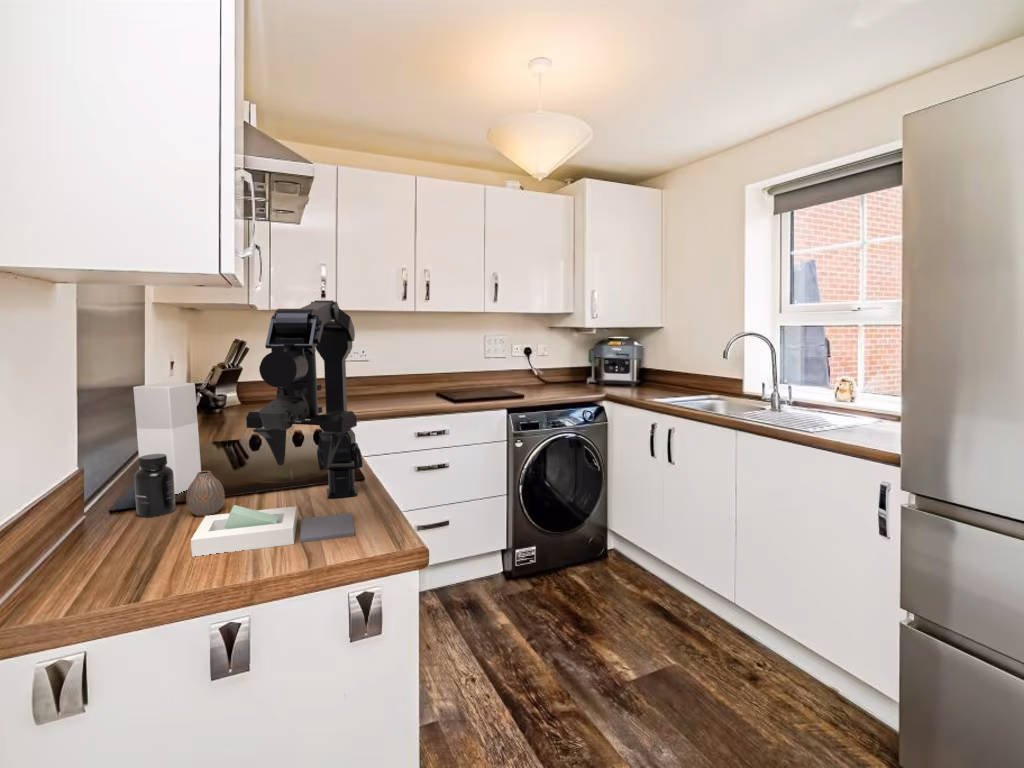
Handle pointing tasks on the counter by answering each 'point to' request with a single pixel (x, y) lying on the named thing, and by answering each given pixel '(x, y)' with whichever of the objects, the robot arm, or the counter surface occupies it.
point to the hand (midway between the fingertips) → (303, 466)
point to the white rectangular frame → (244, 533)
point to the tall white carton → (169, 428)
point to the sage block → (248, 518)
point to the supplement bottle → (154, 486)
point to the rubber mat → (327, 527)
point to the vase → (205, 494)
